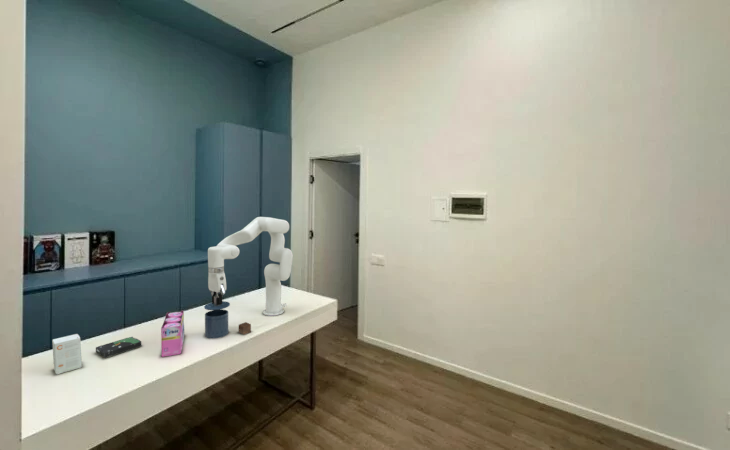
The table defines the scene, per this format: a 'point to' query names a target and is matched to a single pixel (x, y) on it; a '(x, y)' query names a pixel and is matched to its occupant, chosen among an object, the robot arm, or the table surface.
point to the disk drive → (118, 347)
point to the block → (244, 328)
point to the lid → (216, 307)
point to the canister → (216, 323)
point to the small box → (67, 353)
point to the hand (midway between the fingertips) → (217, 303)
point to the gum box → (172, 333)
